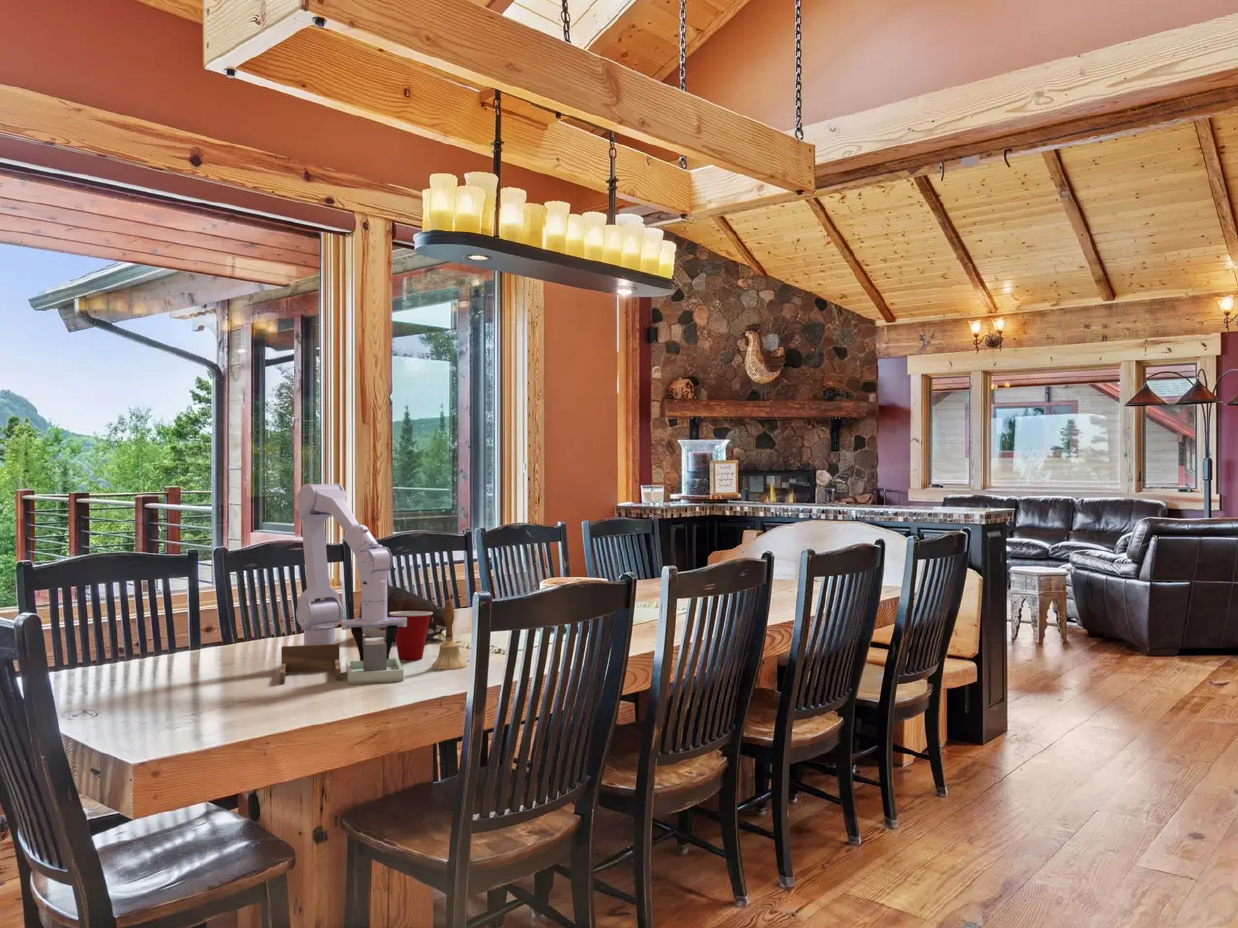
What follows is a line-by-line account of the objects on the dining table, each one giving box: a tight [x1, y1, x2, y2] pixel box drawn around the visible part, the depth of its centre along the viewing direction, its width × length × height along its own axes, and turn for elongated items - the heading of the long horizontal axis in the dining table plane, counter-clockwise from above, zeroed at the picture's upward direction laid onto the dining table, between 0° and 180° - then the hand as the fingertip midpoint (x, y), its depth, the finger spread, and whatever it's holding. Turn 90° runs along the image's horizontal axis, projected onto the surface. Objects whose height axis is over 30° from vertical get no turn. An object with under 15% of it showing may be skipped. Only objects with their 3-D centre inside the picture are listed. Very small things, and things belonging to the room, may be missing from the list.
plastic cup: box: [389, 611, 433, 662], centre depth 239 cm, size 11×11×12 cm
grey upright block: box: [363, 637, 387, 672], centre depth 219 cm, size 8×5×6 cm, turn 17°
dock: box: [279, 643, 342, 685], centre depth 219 cm, size 13×13×6 cm
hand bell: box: [431, 599, 467, 671], centre depth 230 cm, size 8×8×16 cm
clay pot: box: [358, 584, 446, 640], centre depth 266 cm, size 15×15×25 cm
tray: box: [345, 657, 405, 685], centre depth 219 cm, size 14×12×2 cm
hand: (374, 659), depth 219 cm, fingers closed on grey upright block, 5 cm apart
